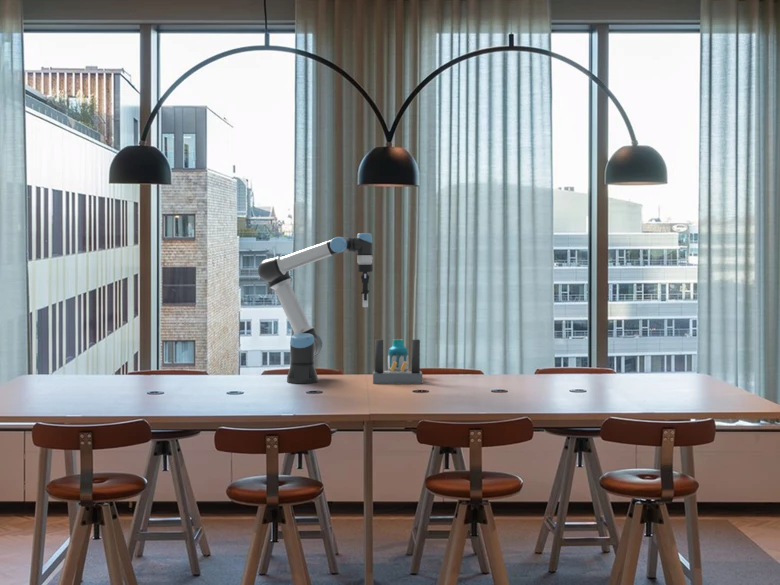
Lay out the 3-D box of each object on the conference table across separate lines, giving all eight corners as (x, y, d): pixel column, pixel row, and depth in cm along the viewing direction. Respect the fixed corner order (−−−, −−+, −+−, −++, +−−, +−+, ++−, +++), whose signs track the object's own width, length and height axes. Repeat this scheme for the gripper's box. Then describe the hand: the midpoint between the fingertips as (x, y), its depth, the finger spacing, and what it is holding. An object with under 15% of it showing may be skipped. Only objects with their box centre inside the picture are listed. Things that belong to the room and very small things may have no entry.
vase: (384, 376, 490) (384, 339, 489) (402, 374, 495) (403, 338, 494) (393, 378, 481) (393, 340, 480) (411, 377, 485) (412, 340, 484)
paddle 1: (390, 370, 466) (394, 361, 466) (390, 369, 469) (394, 361, 469) (393, 371, 466) (397, 363, 466) (393, 370, 469) (397, 362, 469)
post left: (375, 372, 465) (375, 340, 464) (375, 371, 469) (375, 339, 468) (383, 372, 465) (383, 340, 464) (383, 371, 469) (383, 339, 468)
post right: (411, 372, 466) (411, 340, 465) (411, 371, 470) (411, 339, 469) (419, 372, 466) (420, 340, 465) (419, 371, 470) (419, 339, 469)
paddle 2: (400, 369, 466) (404, 361, 466) (400, 369, 469) (404, 361, 469) (403, 371, 466) (407, 363, 466) (403, 370, 469) (407, 362, 469)
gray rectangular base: (373, 383, 462) (373, 372, 462) (372, 380, 472) (373, 370, 472) (422, 383, 463) (422, 372, 463) (421, 380, 473) (421, 370, 473)
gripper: (372, 264, 463) (373, 307, 464) (372, 263, 487) (372, 304, 488) (357, 264, 462) (357, 307, 463) (357, 263, 487) (357, 304, 488)
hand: (365, 306), depth 476 cm, fingers open, 13 cm apart
